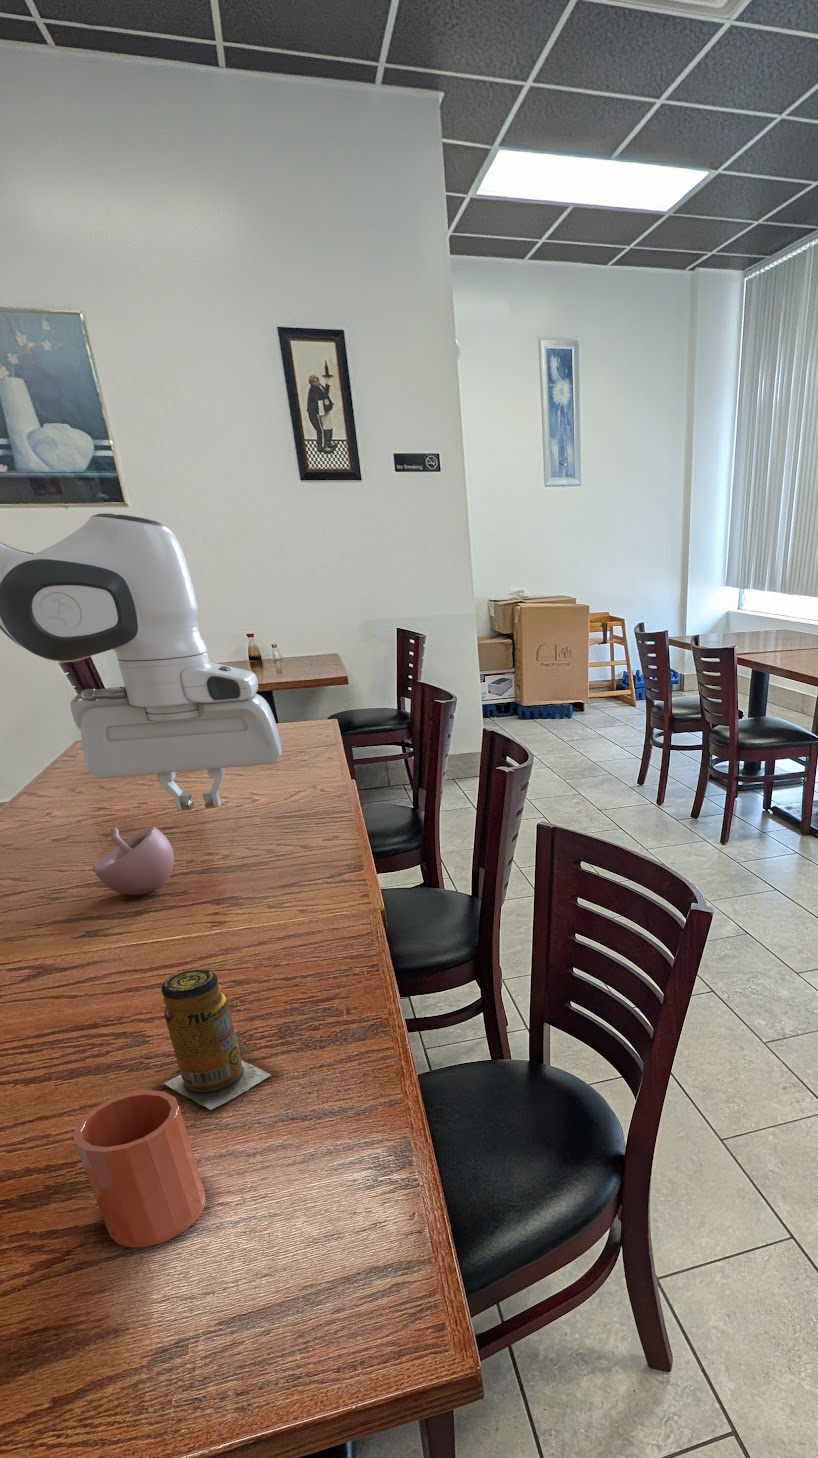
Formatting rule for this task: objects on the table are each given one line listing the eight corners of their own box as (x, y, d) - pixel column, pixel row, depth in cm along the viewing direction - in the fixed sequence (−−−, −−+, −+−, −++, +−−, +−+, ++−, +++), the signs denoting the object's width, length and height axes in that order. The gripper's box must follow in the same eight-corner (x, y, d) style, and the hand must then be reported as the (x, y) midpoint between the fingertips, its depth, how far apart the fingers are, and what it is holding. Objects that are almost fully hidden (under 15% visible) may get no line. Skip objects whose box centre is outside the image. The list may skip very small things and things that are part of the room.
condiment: (224, 1052, 92) (199, 957, 87) (271, 1076, 87) (248, 977, 82) (164, 1085, 87) (133, 986, 81) (211, 1112, 82) (182, 1010, 77)
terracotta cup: (97, 1255, 66) (59, 1158, 61) (122, 1190, 73) (89, 1098, 68) (197, 1237, 67) (167, 1141, 63) (212, 1175, 74) (186, 1084, 70)
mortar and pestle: (108, 885, 140) (88, 820, 135) (183, 874, 143) (167, 810, 138) (98, 911, 129) (76, 842, 124) (179, 899, 133) (162, 831, 128)
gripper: (55, 695, 83) (94, 825, 89) (264, 681, 87) (288, 807, 93) (74, 686, 89) (110, 808, 95) (270, 673, 92) (292, 792, 99)
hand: (199, 808), depth 94 cm, fingers closed
